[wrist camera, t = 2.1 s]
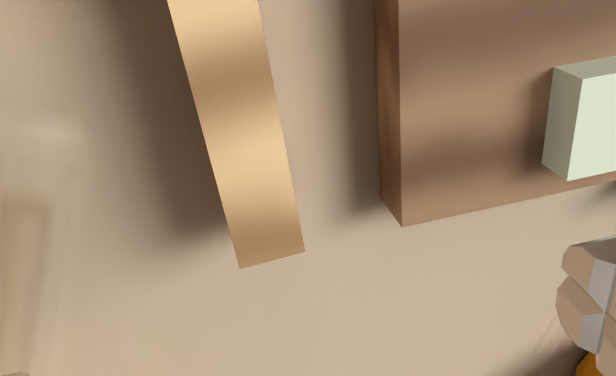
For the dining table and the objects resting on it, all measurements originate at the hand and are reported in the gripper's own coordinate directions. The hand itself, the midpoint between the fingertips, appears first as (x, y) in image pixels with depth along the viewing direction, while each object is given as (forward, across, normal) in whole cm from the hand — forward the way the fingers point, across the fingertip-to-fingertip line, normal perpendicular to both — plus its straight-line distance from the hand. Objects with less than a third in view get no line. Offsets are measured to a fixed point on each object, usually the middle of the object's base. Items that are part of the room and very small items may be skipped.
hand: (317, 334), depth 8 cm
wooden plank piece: (+19, 0, +1) cm, 19 cm away
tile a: (+16, -17, +5) cm, 24 cm away
